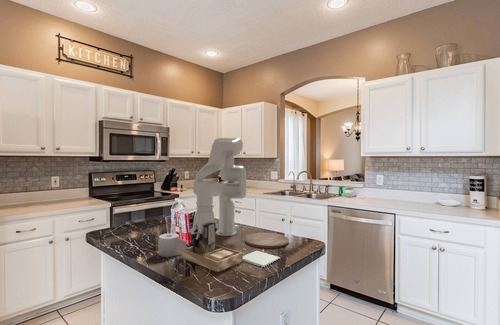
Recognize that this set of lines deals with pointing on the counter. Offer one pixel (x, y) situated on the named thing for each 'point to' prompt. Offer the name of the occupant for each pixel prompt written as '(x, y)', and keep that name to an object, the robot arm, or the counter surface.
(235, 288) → the counter surface
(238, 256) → the wooden tray
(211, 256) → the offcut top
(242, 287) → the counter surface
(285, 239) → the trivet
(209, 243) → the coffee box
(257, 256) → the pad
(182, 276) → the counter surface
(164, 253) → the toilet tissue
